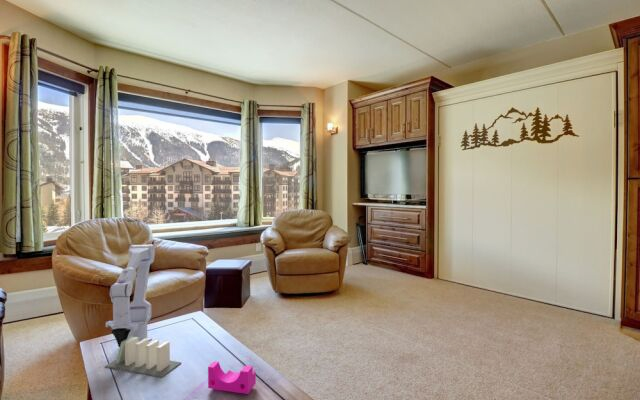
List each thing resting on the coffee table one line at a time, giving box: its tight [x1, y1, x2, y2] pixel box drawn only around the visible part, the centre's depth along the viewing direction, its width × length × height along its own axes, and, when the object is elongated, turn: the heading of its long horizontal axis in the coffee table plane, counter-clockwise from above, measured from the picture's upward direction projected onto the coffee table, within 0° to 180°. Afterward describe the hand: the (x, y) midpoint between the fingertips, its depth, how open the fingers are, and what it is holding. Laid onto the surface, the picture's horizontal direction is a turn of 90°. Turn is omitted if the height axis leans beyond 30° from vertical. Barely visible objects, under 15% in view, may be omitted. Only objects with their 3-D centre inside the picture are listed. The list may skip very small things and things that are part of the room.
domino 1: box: [125, 337, 139, 366], centre depth 127 cm, size 2×5×9 cm, turn 165°
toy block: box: [207, 361, 257, 395], centre depth 112 cm, size 15×6×8 cm, turn 77°
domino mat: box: [104, 359, 182, 378], centre depth 125 cm, size 27×10×1 cm, turn 75°
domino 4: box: [156, 341, 171, 371], centre depth 123 cm, size 2×5×9 cm, turn 164°
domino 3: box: [146, 339, 160, 369], centre depth 124 cm, size 2×5×9 cm, turn 164°
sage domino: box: [115, 337, 134, 364], centre depth 127 cm, size 2×5×9 cm, turn 165°
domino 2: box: [135, 338, 150, 368], centre depth 125 cm, size 2×5×9 cm, turn 164°
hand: (122, 346), depth 128 cm, fingers closed
